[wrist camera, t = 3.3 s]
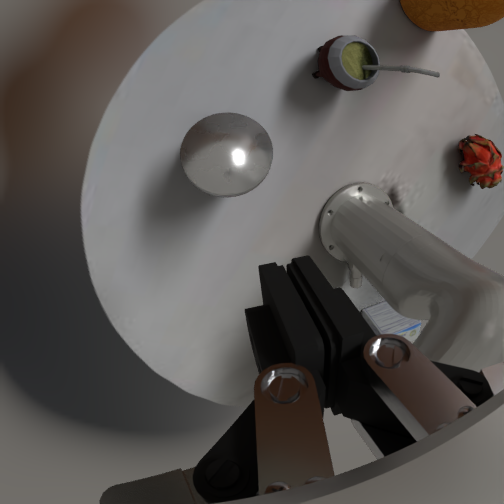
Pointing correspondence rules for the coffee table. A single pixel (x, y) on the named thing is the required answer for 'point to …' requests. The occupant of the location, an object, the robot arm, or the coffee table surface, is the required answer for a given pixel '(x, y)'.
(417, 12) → the wine bottle
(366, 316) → the medicine box
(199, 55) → the coffee table surface
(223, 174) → the lid
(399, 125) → the coffee table surface
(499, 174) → the dragon fruit
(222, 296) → the coffee table surface
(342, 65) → the mate gourd
